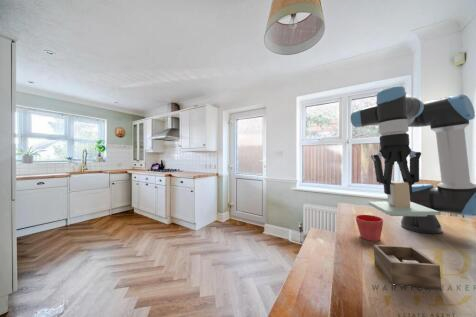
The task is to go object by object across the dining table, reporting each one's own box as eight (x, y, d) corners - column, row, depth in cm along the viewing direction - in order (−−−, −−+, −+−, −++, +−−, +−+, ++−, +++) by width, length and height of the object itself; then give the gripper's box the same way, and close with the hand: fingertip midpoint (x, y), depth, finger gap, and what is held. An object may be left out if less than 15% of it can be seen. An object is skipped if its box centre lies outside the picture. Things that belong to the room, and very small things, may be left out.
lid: (410, 206, 66) (407, 179, 66) (439, 218, 53) (436, 184, 53) (368, 206, 69) (366, 180, 69) (387, 217, 56) (384, 185, 57)
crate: (413, 266, 65) (412, 246, 65) (441, 289, 53) (439, 265, 53) (374, 263, 68) (373, 244, 68) (393, 285, 56) (391, 262, 56)
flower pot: (386, 244, 82) (384, 222, 82) (357, 240, 88) (355, 219, 88) (382, 235, 91) (381, 215, 91) (356, 232, 97) (355, 213, 97)
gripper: (415, 133, 63) (420, 201, 63) (361, 137, 67) (365, 201, 67) (432, 130, 56) (438, 206, 55) (370, 135, 60) (375, 206, 60)
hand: (398, 203), depth 61 cm, fingers closed on lid, 3 cm apart
